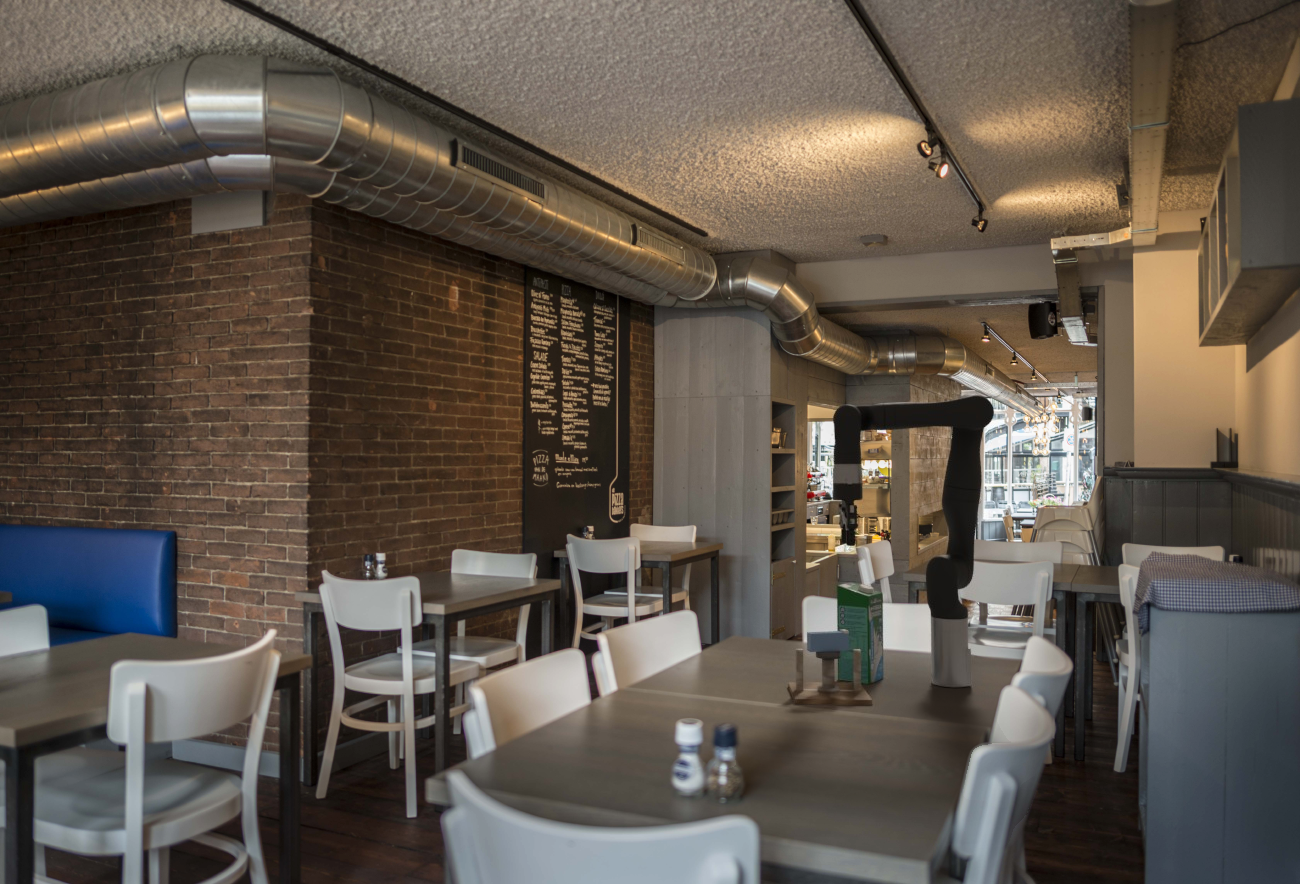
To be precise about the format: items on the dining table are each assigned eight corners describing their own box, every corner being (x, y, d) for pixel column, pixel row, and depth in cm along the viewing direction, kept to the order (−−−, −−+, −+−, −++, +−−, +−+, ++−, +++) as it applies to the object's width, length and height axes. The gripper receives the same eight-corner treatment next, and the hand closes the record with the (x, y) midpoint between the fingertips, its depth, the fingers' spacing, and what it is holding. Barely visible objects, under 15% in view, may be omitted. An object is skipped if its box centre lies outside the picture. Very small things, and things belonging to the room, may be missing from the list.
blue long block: (804, 655, 231) (804, 629, 231) (842, 653, 233) (842, 627, 233) (813, 660, 225) (813, 633, 226) (852, 658, 227) (851, 631, 228)
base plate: (859, 687, 237) (859, 643, 238) (872, 704, 219) (871, 656, 220) (788, 686, 238) (787, 642, 239) (795, 704, 220) (794, 656, 221)
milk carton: (869, 684, 241) (868, 587, 242) (837, 679, 246) (836, 584, 247) (883, 678, 248) (882, 583, 249) (852, 673, 254) (851, 581, 254)
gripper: (829, 481, 250) (829, 542, 249) (836, 482, 235) (837, 546, 235) (857, 481, 249) (858, 542, 249) (867, 481, 235) (867, 546, 234)
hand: (848, 544), depth 242 cm, fingers open, 8 cm apart
